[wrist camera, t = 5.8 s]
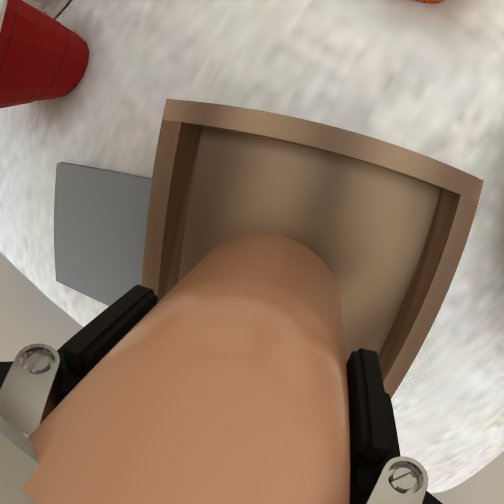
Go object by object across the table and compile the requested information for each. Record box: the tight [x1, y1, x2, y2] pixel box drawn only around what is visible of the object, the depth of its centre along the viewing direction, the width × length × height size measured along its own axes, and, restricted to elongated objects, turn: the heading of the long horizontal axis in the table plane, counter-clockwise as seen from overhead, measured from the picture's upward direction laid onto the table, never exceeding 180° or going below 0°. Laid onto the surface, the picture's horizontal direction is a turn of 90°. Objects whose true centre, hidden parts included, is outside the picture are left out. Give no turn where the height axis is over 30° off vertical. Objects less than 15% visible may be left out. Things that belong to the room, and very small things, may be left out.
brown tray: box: [142, 99, 483, 398], centre depth 18 cm, size 17×17×4 cm
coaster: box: [54, 162, 152, 306], centre depth 22 cm, size 11×11×1 cm
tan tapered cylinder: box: [21, 233, 350, 504], centre depth 8 cm, size 9×6×11 cm
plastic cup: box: [0, 0, 89, 108], centre depth 13 cm, size 11×11×12 cm
